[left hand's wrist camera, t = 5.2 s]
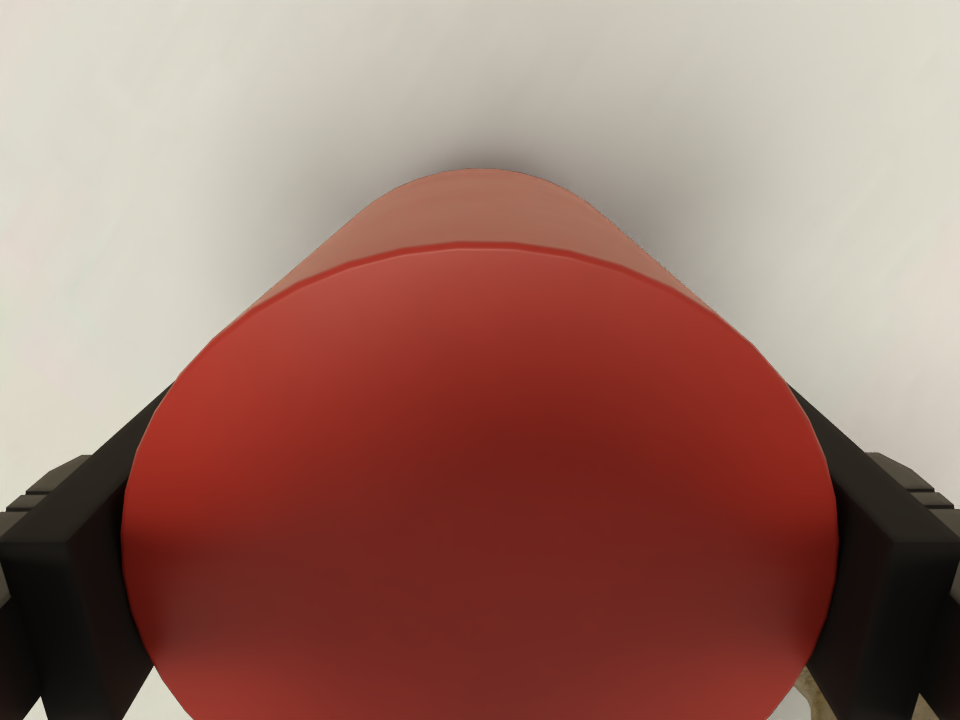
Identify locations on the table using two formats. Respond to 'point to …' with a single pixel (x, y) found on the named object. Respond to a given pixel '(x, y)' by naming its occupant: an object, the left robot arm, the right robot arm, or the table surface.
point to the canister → (479, 484)
